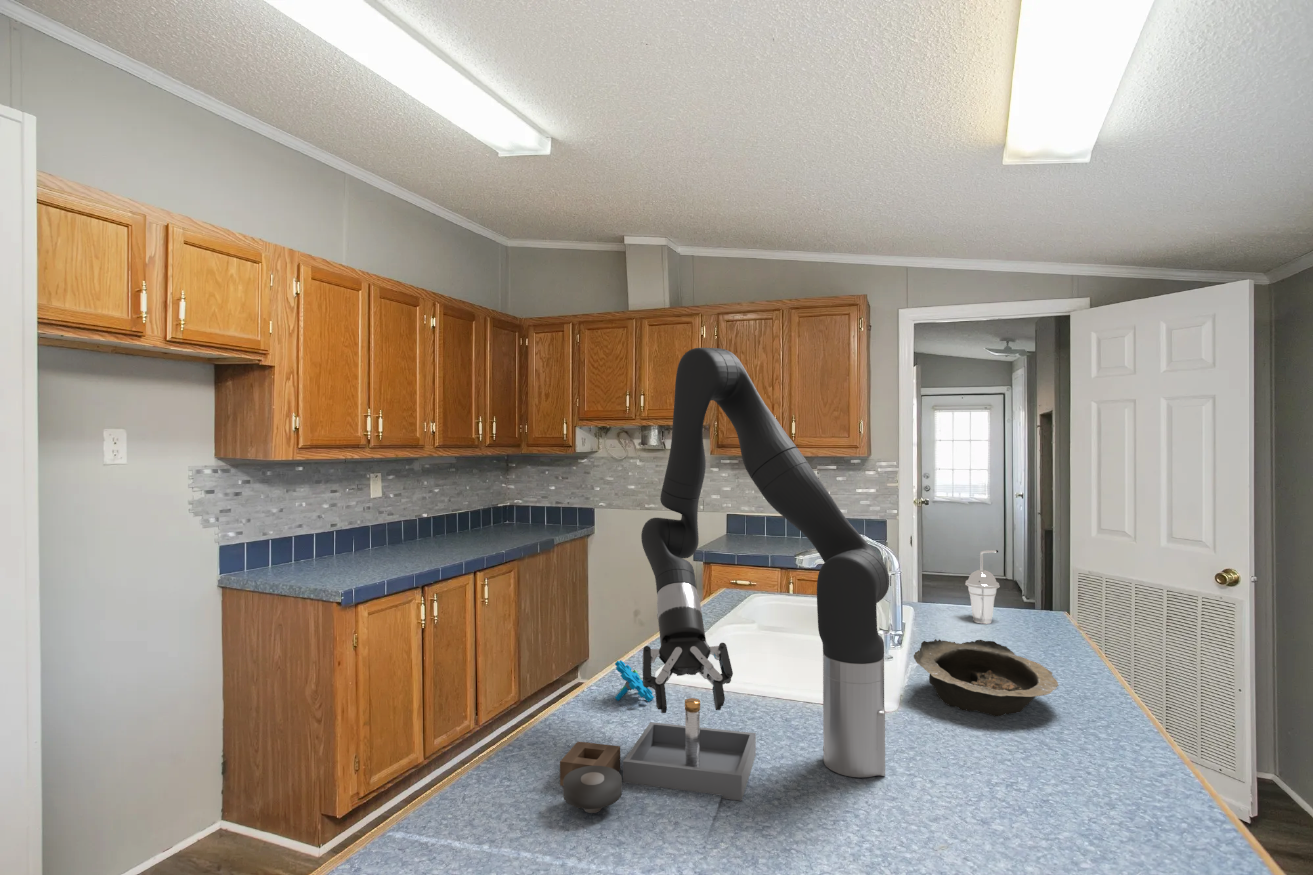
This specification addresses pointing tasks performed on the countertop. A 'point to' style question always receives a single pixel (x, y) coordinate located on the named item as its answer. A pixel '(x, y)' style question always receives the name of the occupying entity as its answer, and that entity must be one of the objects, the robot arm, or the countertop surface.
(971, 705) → the stone bowl
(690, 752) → the lock pin
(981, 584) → the cup with straw
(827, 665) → the robot arm
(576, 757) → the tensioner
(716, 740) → the tray
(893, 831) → the countertop surface
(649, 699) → the gear
